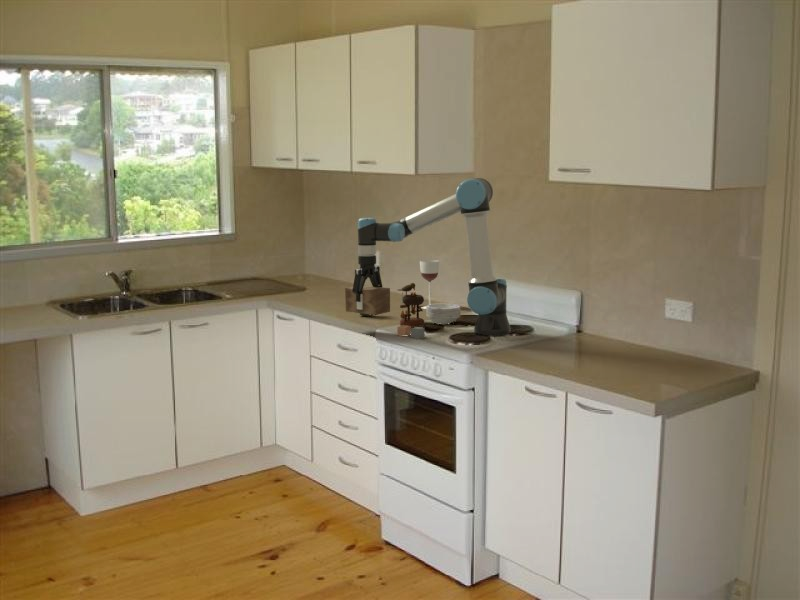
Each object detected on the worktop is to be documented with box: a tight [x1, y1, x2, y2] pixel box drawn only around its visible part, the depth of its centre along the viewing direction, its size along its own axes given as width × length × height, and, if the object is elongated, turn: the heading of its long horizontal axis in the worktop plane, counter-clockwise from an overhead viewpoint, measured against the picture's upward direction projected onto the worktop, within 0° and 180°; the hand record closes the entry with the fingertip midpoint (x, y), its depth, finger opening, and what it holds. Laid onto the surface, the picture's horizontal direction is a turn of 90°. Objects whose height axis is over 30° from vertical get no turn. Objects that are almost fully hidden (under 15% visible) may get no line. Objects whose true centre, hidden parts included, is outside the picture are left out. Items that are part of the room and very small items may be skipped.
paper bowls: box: [425, 302, 462, 325], centre depth 408 cm, size 15×15×8 cm
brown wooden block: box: [344, 285, 391, 316], centre depth 387 cm, size 16×10×10 cm, turn 53°
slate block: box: [410, 327, 426, 340], centre depth 377 cm, size 4×4×4 cm
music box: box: [397, 282, 425, 327], centre depth 398 cm, size 15×11×20 cm
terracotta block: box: [396, 325, 411, 336], centre depth 381 cm, size 4×4×4 cm
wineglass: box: [419, 259, 440, 310], centre depth 449 cm, size 9×10×23 cm
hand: (367, 307), depth 387 cm, fingers closed on brown wooden block, 10 cm apart
